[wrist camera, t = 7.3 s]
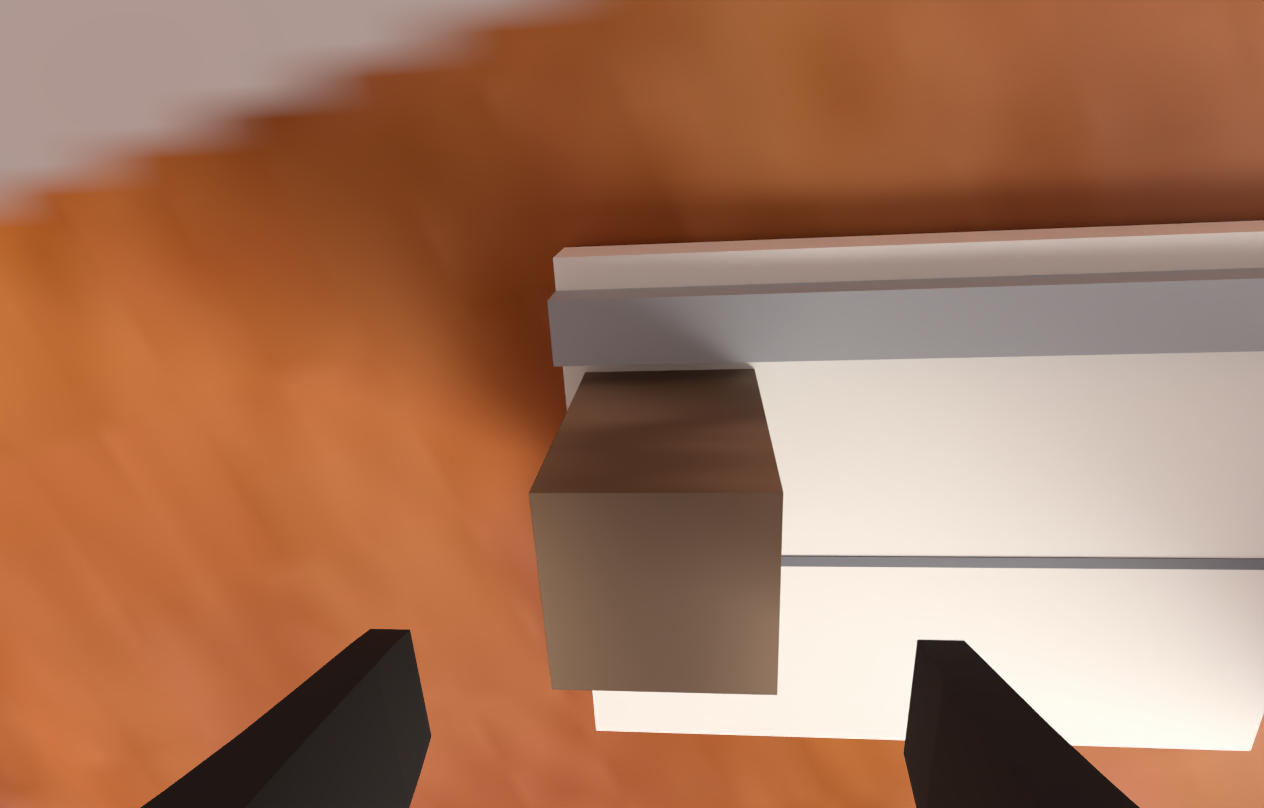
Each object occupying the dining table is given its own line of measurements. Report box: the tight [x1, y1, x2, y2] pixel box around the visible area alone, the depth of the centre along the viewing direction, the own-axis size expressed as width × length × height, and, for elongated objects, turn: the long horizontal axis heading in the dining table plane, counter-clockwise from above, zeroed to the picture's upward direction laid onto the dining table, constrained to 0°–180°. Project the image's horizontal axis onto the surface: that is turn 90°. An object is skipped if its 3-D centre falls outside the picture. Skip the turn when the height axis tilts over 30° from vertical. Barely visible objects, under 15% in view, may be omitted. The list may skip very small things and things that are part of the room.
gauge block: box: [529, 369, 783, 695], centre depth 14 cm, size 4×4×6 cm
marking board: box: [547, 220, 1264, 751], centre depth 18 cm, size 18×14×2 cm
